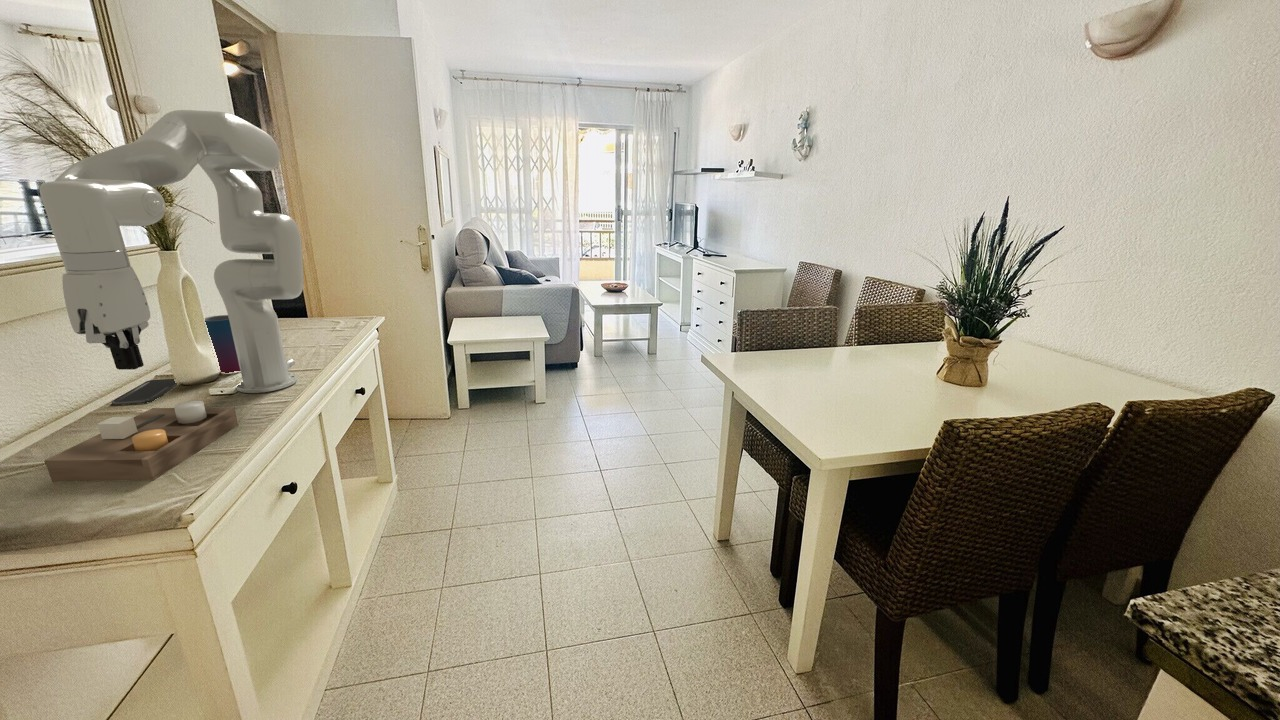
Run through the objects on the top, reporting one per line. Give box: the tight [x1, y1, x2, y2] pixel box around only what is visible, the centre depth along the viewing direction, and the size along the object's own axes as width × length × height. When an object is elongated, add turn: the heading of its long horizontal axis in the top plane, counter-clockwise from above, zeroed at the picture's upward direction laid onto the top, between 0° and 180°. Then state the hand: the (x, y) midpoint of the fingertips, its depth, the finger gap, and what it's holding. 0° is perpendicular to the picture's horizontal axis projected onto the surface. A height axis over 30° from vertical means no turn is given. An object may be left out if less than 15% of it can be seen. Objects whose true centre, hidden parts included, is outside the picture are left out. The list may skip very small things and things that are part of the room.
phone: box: [111, 378, 178, 406], centre depth 124 cm, size 8×1×15 cm
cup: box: [204, 314, 241, 373], centre depth 137 cm, size 7×7×15 cm
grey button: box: [173, 400, 207, 424], centre depth 101 cm, size 4×4×3 cm
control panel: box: [44, 407, 239, 483], centre depth 97 cm, size 22×16×4 cm
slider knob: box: [97, 416, 138, 439], centre depth 94 cm, size 3×4×3 cm
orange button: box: [132, 429, 168, 451], centre depth 92 cm, size 4×4×3 cm
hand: (130, 367), depth 89 cm, fingers closed
